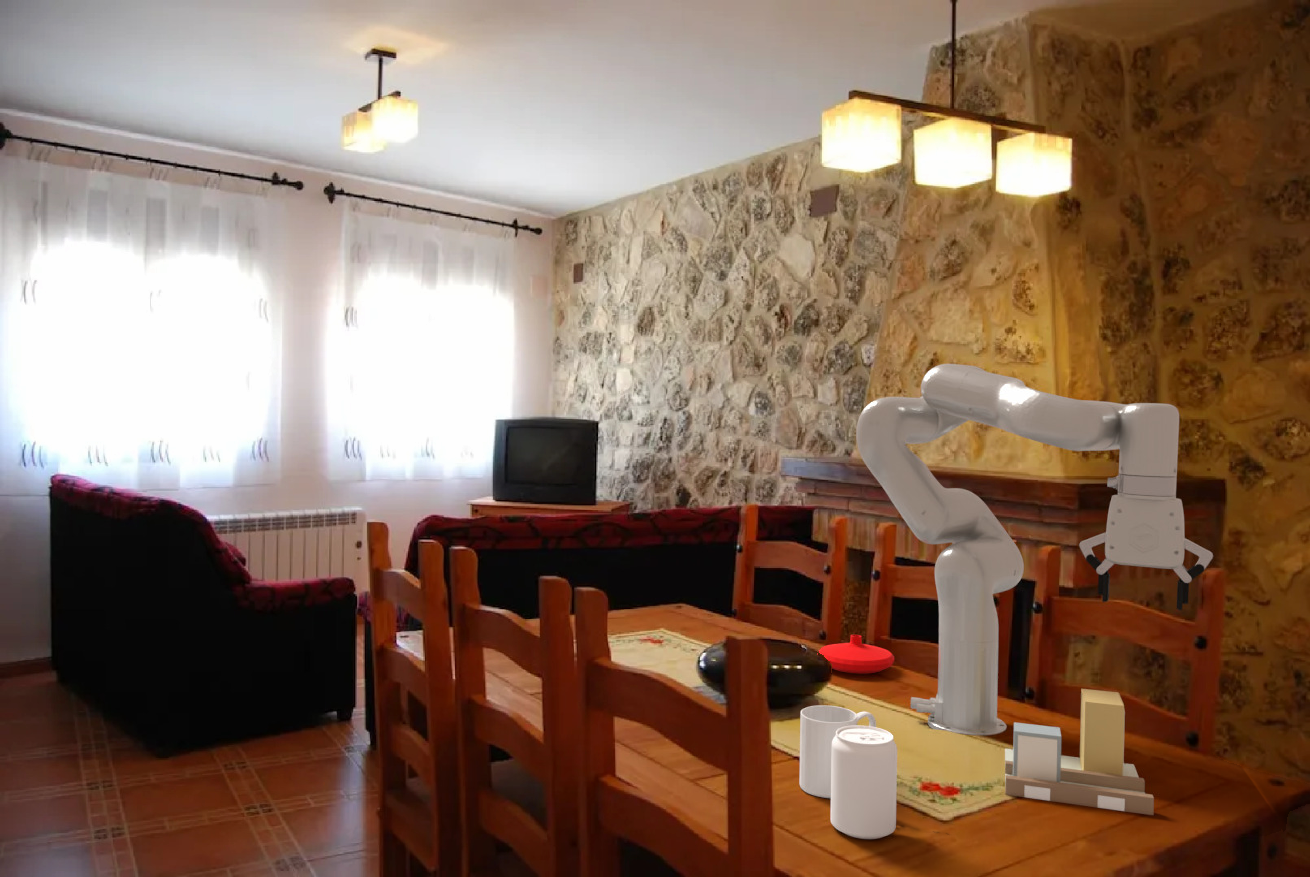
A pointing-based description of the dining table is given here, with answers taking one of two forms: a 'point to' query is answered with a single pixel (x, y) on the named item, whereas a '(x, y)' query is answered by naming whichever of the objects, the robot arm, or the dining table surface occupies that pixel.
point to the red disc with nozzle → (857, 656)
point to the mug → (822, 744)
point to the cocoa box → (1037, 752)
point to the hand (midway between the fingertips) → (1141, 604)
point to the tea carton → (1102, 732)
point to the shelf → (1084, 787)
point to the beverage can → (863, 782)
